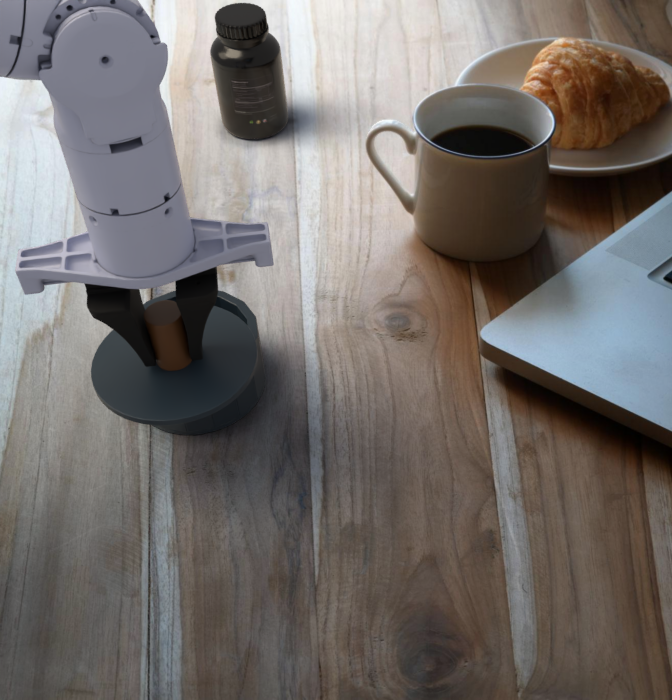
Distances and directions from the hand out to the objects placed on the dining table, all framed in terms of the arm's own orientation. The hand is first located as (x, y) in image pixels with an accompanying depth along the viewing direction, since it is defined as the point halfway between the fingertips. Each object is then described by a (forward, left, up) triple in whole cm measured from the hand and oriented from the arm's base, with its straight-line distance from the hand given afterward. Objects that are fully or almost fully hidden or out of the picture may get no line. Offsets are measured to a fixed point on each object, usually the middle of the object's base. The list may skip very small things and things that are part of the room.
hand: (174, 352), depth 62 cm
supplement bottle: (+7, +41, -9) cm, 42 cm away
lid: (0, 0, -1) cm, 1 cm away
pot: (0, +5, -9) cm, 10 cm away
